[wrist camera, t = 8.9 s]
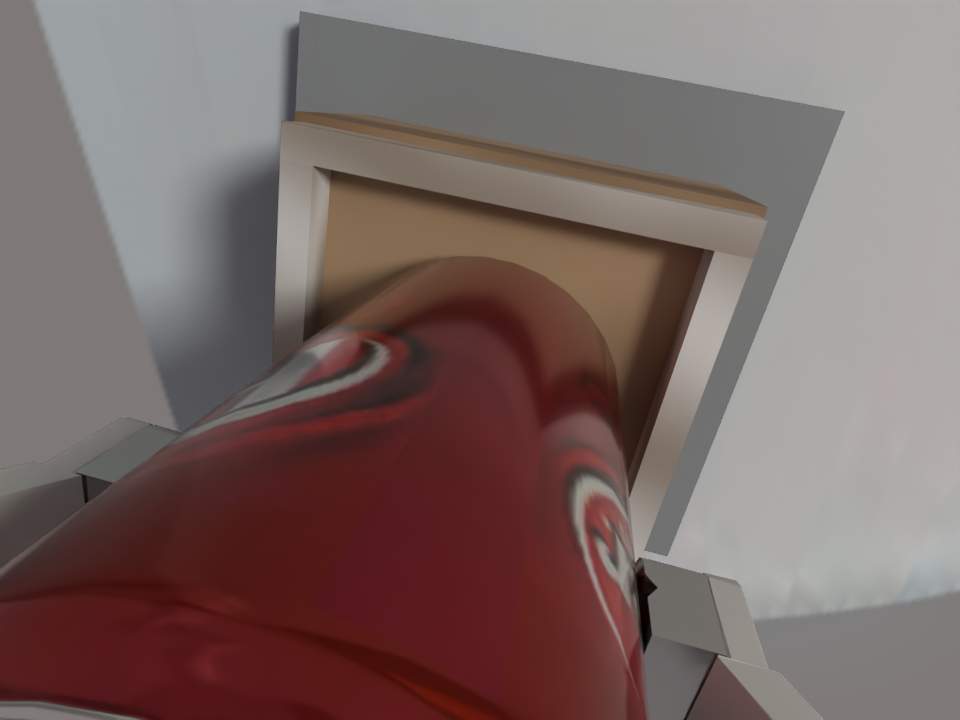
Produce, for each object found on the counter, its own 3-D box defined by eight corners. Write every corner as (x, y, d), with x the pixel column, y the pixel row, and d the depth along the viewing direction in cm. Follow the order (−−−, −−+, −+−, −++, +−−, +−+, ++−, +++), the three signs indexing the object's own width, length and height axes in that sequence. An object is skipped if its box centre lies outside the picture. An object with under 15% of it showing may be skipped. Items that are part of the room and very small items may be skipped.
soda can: (676, 339, 14) (972, 1107, 3) (532, 540, 17) (419, 1292, 6) (412, 195, 14) (-277, 451, 3) (314, 423, 17) (-208, 973, 6)
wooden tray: (369, 115, 18) (273, 109, 13) (721, 185, 17) (781, 213, 12) (342, 415, 23) (261, 507, 17) (620, 487, 21) (629, 610, 16)
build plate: (314, 16, 18) (299, 11, 17) (830, 112, 17) (844, 111, 16) (291, 441, 25) (280, 453, 24) (664, 539, 23) (667, 556, 22)
